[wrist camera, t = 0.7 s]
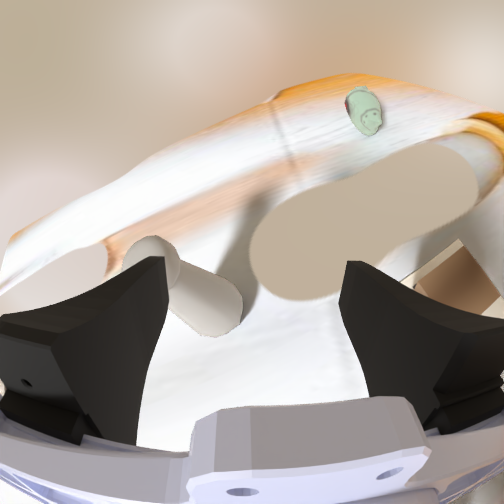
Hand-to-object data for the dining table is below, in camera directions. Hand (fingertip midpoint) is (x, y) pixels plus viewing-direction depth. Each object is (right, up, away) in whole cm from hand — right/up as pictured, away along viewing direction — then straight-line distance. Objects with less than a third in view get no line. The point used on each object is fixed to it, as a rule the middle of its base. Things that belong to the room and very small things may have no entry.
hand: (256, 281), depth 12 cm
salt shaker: (-3, -5, +18) cm, 19 cm away
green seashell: (+14, +16, +22) cm, 30 cm away
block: (+17, -4, +10) cm, 20 cm away
